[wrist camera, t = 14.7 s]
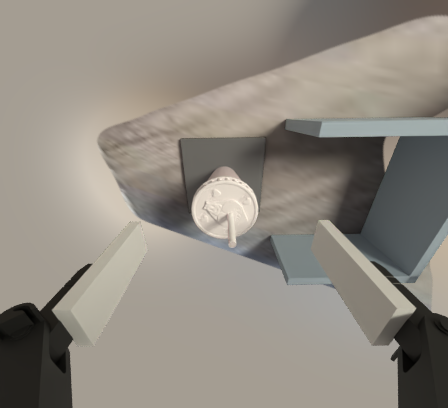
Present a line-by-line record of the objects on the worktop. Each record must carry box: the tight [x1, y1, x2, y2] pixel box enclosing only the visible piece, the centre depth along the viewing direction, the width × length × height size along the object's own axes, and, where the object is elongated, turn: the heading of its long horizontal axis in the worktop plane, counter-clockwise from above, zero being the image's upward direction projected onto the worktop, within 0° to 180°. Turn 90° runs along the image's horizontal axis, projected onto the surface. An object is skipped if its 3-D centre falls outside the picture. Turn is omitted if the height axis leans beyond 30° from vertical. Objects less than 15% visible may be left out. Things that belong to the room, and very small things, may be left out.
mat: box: [180, 137, 266, 213], centre depth 25 cm, size 11×11×1 cm
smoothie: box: [191, 166, 258, 248], centre depth 19 cm, size 6×6×14 cm
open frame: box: [270, 117, 448, 285], centre depth 23 cm, size 17×19×9 cm
